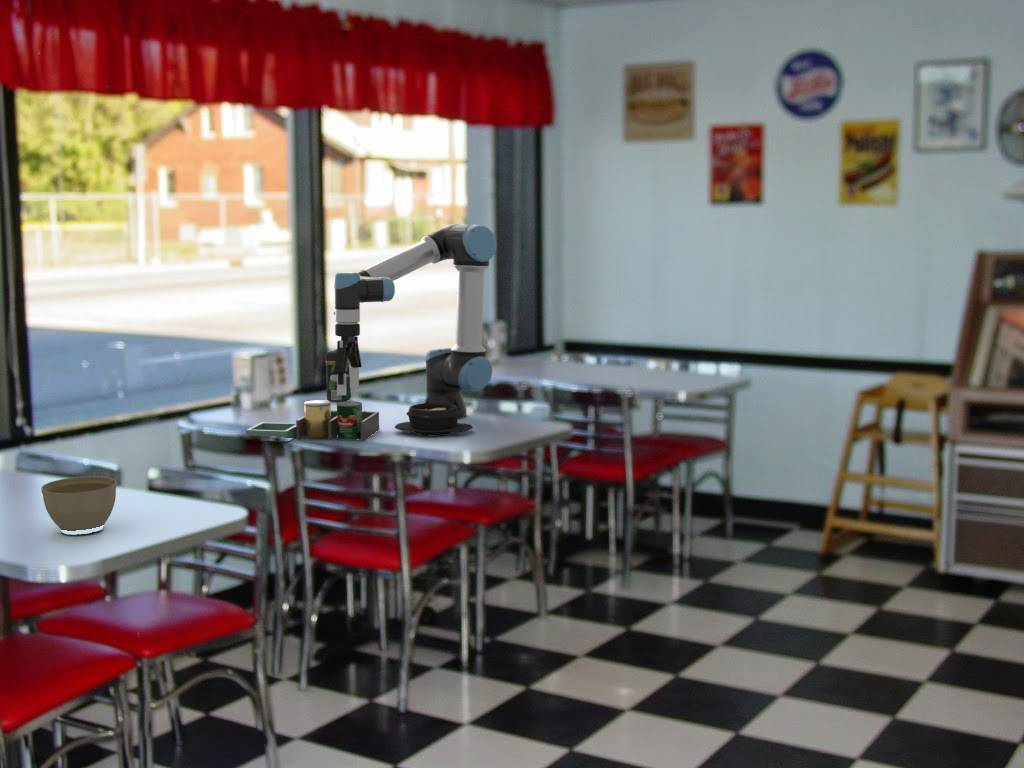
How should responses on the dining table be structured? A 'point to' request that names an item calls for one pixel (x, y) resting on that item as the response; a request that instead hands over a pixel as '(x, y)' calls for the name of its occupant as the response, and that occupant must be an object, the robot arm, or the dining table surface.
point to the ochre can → (317, 419)
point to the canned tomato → (349, 420)
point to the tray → (274, 430)
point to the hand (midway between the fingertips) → (348, 391)
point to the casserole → (433, 419)
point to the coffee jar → (333, 379)
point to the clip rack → (367, 425)
